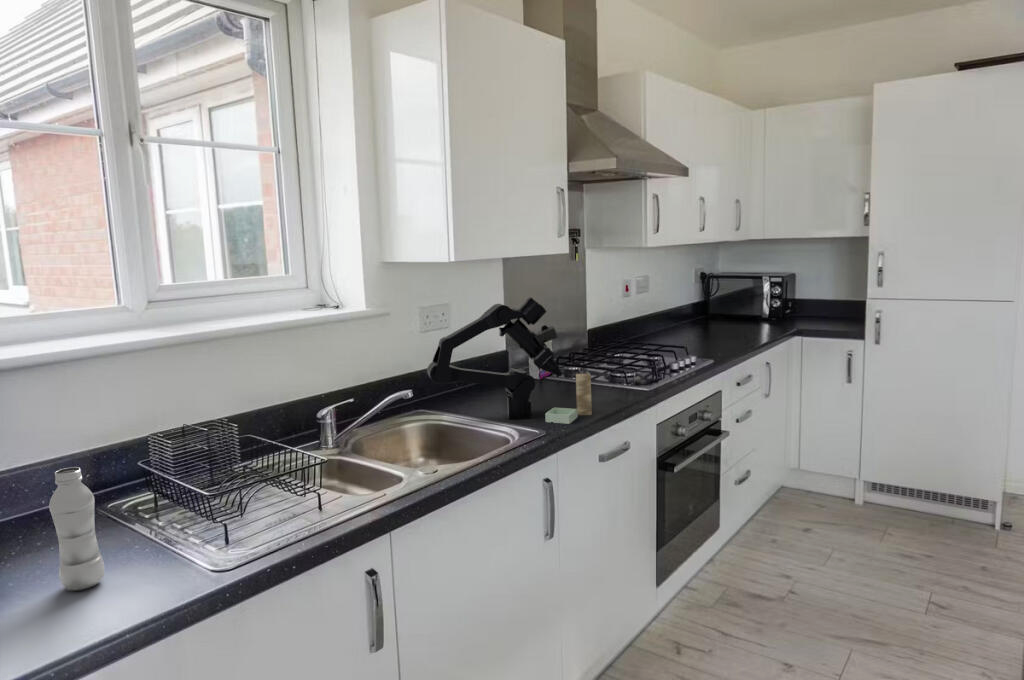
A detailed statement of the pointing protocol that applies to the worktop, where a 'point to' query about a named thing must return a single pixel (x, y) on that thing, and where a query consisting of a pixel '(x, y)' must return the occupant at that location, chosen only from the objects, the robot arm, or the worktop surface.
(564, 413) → the open square box
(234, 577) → the worktop surface
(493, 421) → the worktop surface
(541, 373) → the candy bar box
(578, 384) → the tan wooden block
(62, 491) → the plastic bottle
